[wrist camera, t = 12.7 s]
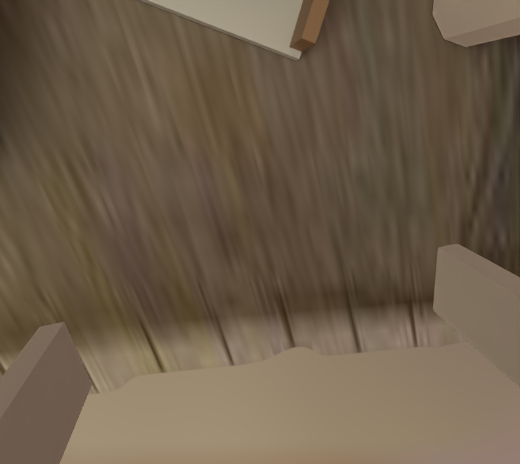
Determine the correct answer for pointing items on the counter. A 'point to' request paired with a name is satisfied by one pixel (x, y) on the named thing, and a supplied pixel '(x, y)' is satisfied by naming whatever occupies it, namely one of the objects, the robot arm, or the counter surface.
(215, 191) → the counter surface
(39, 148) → the counter surface
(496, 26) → the toilet paper
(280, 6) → the tray
